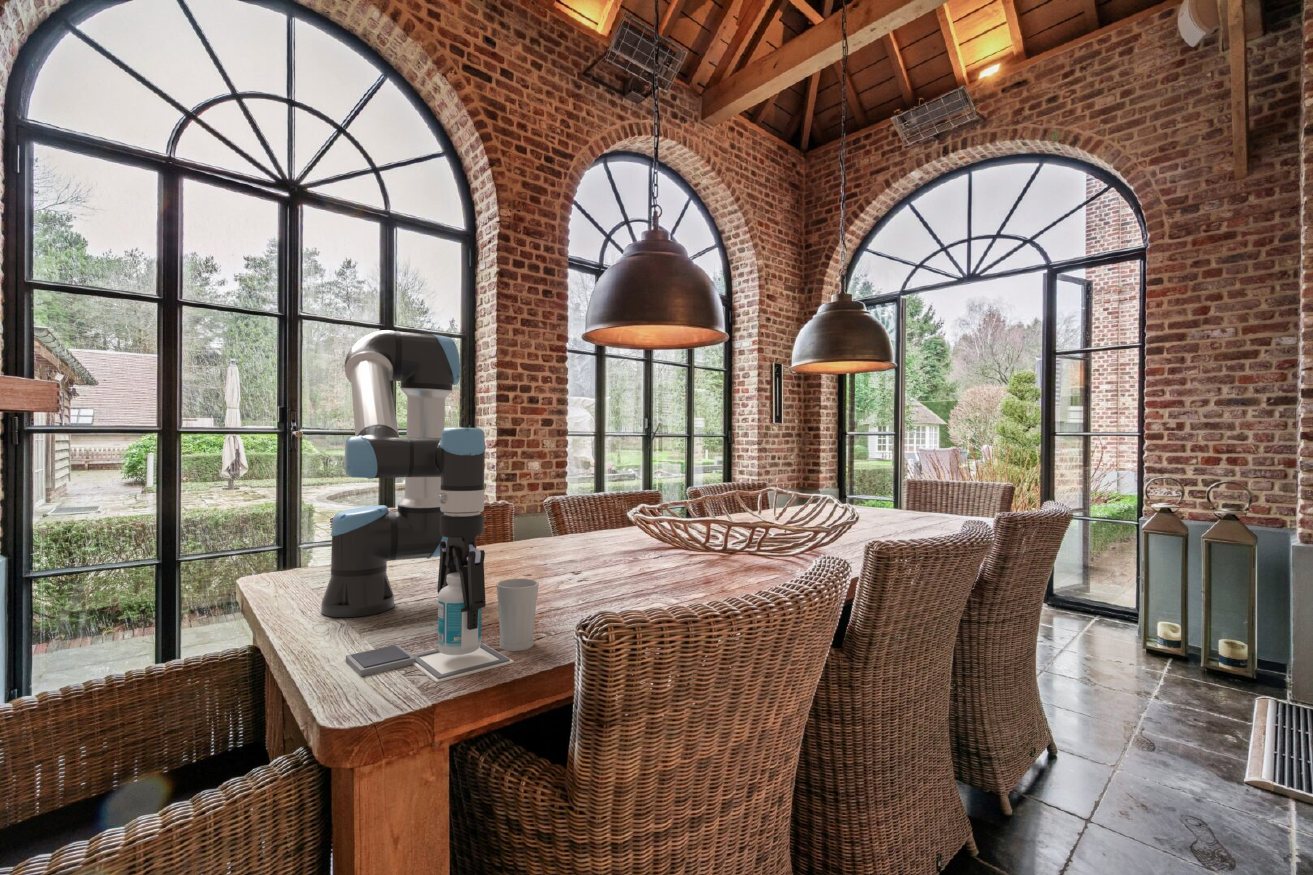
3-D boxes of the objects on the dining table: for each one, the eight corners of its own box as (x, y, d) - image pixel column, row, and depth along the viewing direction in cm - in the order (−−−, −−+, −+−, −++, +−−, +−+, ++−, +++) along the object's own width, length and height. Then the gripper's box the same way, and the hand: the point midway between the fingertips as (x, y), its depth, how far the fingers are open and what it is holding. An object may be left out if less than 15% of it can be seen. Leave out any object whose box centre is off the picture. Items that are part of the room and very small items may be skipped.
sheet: (405, 658, 109) (405, 655, 109) (478, 642, 118) (478, 639, 118) (436, 682, 98) (436, 679, 98) (513, 662, 108) (513, 659, 108)
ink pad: (345, 660, 107) (345, 654, 107) (397, 649, 113) (397, 643, 113) (360, 676, 100) (361, 669, 100) (415, 663, 106) (415, 656, 106)
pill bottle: (489, 645, 111) (490, 571, 111) (463, 659, 104) (465, 580, 104) (455, 640, 113) (456, 568, 113) (428, 653, 106) (429, 576, 106)
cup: (499, 638, 121) (500, 578, 121) (539, 638, 121) (540, 578, 121) (491, 652, 113) (493, 588, 113) (535, 651, 113) (536, 588, 113)
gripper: (419, 509, 113) (417, 630, 113) (466, 521, 98) (464, 661, 98) (458, 506, 118) (456, 623, 118) (508, 517, 103) (505, 651, 103)
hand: (459, 640), depth 108 cm, fingers closed on pill bottle, 7 cm apart
